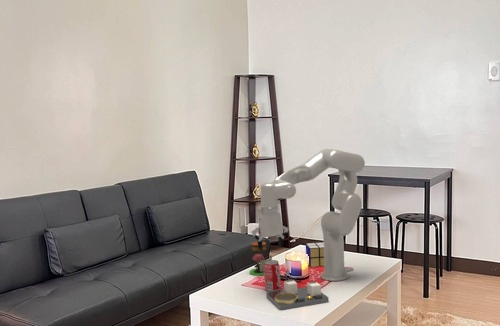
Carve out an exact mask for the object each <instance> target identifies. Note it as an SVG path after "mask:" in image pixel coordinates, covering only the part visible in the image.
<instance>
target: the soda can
mask: <svg viewBox="0 0 500 326" xmlns="http://www.w3.org/2000/svg"><path fill="white" fill-rule="evenodd" d="M280 266H281V265H280V264H279V261H278V260H276V259H272V260H268V261H265V264H264V275H263V276H264V288H265V291H266V292H267V293H270V292H277V291H281V288H282V286H281V270H280V269H281V267H280Z"/></svg>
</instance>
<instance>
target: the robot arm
mask: <svg viewBox="0 0 500 326" xmlns="http://www.w3.org/2000/svg"><path fill="white" fill-rule="evenodd" d="M365 163H366V161H365V159H364V157H363V156H362V155H361V154H357V153H352V152H347V151H343V150H338V149H333V148H324V149H322V150H320V151H318V152H317V153H315V154H314V155H313V156H312V157H310V158H309V159H307V160H306V161H305V162H304V163H302V164H299V165H298V166H295V167H294V168H291V169H288V170H287V171H284V172H283V173H281V175H279V176H278V177H276V178H275V179H274V180H273V181H271V182H263V183H261V185H260V208H259V209H257V210H258V213H260V214H259V218H258V227H256V228H255V229H253V230H251V234H252V236H253V238H254V239H256V241H257V242H258V248H259V249H260V250H262V242H263V239H264V238H270V237H278V247H280V248H283V246H284V239H285V237H286V236H287V235H288V231H289V229H290V228H289V227H287V226H284V225H283V222H282V216H281V212H279V199H291V198H293V197H294V196H295V195H296V193H297V187H296V184H300V183H305V182H309V181H313V180H314V179H316V177H318V176H320V175H321V174H322V173H324V172H325V171H326V170H328V169H329V168H330V169H335V170H338V173H339V179H338V184H337V186H336V189H335V191H334V194H333V196H332V199H331V205H332V207H333V208H334V209H335V210H338V211H340V212H337V211H331V210H330V211H327V212H324V214H323V215H322V216H321V220H320V226H321V231H322V235H323V236H322V237H323V242H324V266H323V272H322V273H321V275H320V277H321V279H322V280H325V281H328V280H329V282H330V281H331V282H340V281H345V280H347V279H348V278H349V274H348V273H352V272H354V271H355V268H354V267H349V266H345V240H344V237H345V236H348V235H350V234H351V233H352V232H353V230H354V228H355V226H356V223H357V220H358V218H359V215H360V213H361V210H362V207H363V206H362V204H363V203H362V199H361V197H360V195H359V194H357V193H355V192H356V189H357V185H358V176H357V175H358V174H357V173H360V172H361V171H363V170H364V168H365V166H366V165H365ZM257 233H258V235H257Z"/></svg>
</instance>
